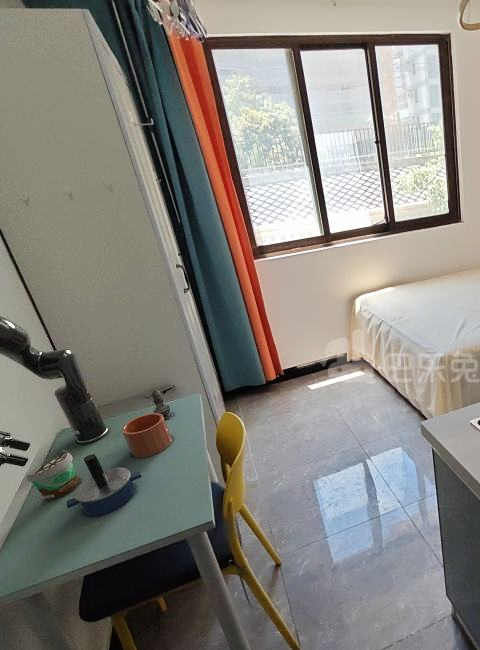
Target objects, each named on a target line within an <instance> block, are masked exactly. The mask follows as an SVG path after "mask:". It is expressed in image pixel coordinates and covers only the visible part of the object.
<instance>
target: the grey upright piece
mask: <svg viewBox="0 0 480 650" xmlns="http://www.w3.org/2000/svg"><path fill="white" fill-rule="evenodd" d="M151 397H152V399H153V401H152V403H154V405H155V408H154V409H153V411H152V413H159V414H162V415H163V417H164V420H165V421H167V420H169V419H171V418H172V417H173V415H174V414H173V413H172V412H171V405H170V404H166V403H165V401H164V397H163V396H162V393H161V391H160V390H157V389H155V388H153V391H152V392H151Z"/></svg>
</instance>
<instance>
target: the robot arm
mask: <svg viewBox="0 0 480 650" xmlns="http://www.w3.org/2000/svg"><path fill="white" fill-rule="evenodd" d="M0 355H2V356H4V357H5V358H7V359H9V360H11V361H13V362H15V363H17V364H19V365H20V366H22V367H23V368H25V369H26V370H28V371H29V372H31V373H32V374H34V375H35V376H37V378H40V379H43V380H49V381H51V380H58V379H63V380H64V384H62V385H61V386H59V387H58V388H56V389H55V390H54V394H53V395H54V397H55V399H56V400H57V403H58V404H59V407H60V408H61V410H62V412H63V414H64V416H65V418H66V420H67V422H68V424H69V426H70V428H71V432H72V434H73V435H74V436H75V438H76V441H77V443H78V444H82V445H85V444H91V443H93V442H95V441H98V440H101V439H102V438H103V437H105V436H106V435H107V434H108V432H109V429H108V427H107V426H106V423H105V421H104V419H103V417H102V415H101V412H100V411H99V409H98V407H97V404H96V402H95V399H94V398H93V396H92V394H91V391H90V389H89V387H88V384H87V378H86V376H85V374H84V371H83V368H82V365H81V362H80V361H79V358H78V357H77V355H76V354H75V352H74V351H73V350H71V349H68V348H65V349H57V350H50V351H41V350H39V349H37V348H35V347H33V346H32V343H31V337H30V335H29V333H28V332H27V330H25V328H23V327H22V326H20V325H19V324H17V323H16V322H14V321H12V320H10V319H8V318H6V317H4V316H1V315H0ZM30 447H31V442H29V441H25V440H21V439H17V438H14V437H13V436H12V434H11V433H10V432H8V431H7V432H6V431H3V430H0V467H2V466H3V465H5V464H8V465H13V466H17V467H25V466H26V465H27V463H28V461H29V457H27V456H24V455H19V454H14V453H9V452H7V451H5V450H4V449H3V448H9V449H14V450H17V451H22V452H27V451H28V450H29V448H30Z"/></svg>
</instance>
